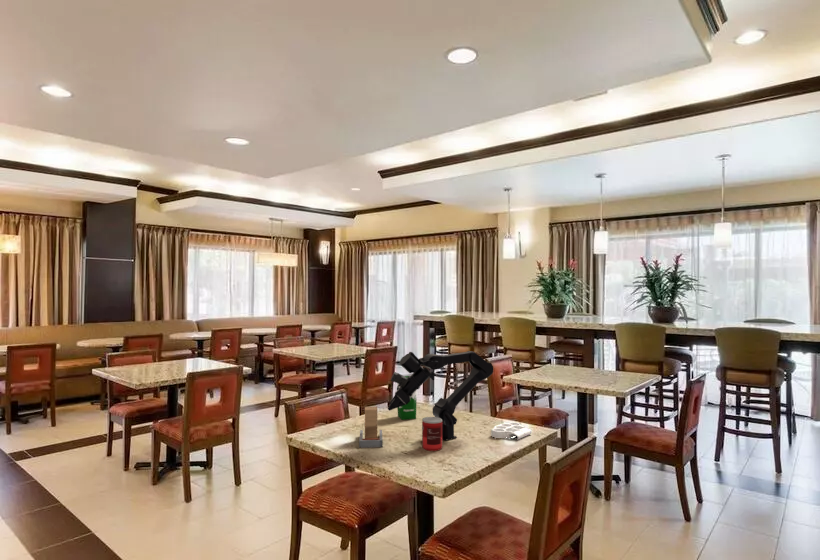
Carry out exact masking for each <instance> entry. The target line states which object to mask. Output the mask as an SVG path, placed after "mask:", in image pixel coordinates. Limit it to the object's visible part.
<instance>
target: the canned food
mask: <svg viewBox="0 0 820 560" xmlns="http://www.w3.org/2000/svg"><path fill="white" fill-rule="evenodd" d="M421 420H422V421H421V440H422V441H421V443H422V444H421V445H422V449H423V450H425V451H430V452H437V451H441V450H442V448H443V440H442V419H441V418H438V417H435V416H426V417H423V418H422V419H421Z"/></svg>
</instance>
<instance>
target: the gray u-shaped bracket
mask: <svg viewBox="0 0 820 560" xmlns="http://www.w3.org/2000/svg"><path fill="white" fill-rule="evenodd" d="M363 435H364V430H363V429H360V430H359V439H358V440H359V441H358V448H360V447H361V448H384V447H383V446H384V444H383V442H384V440H383V429H379V438H378V437H377V438H365V437H363Z"/></svg>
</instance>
